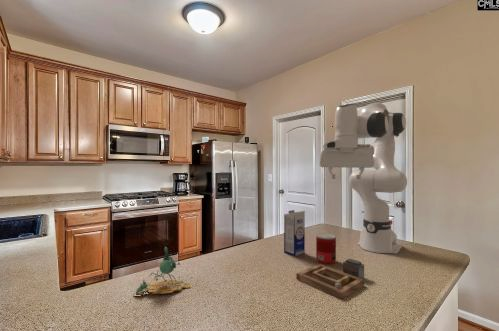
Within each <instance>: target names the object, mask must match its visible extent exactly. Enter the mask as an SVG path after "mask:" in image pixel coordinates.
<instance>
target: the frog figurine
mask: <svg viewBox="0 0 499 331" xmlns="http://www.w3.org/2000/svg"><path fill="white" fill-rule="evenodd" d="M177 265H178V266H180V265H181V263H180V262H178V263H176V261H175V260H174V259H173V256H172V253H170V254H169V250H168V247H166V246H164V257H163V259H162V260H160V263H159V270H157V272H156V273H154V272H151V273H150V274H149V277H151V276H152V275H155V276H154V278H153V282H150V283H147V281H145V278H144V279H143V281H142V283H140V286H139V287H138V288H137V289H136V291H135V292H134V293H133V295H135V294H136V295H143V296H142V297H144V295H145V294H144V292H145V291H146V292H149V293H152V294H153V295H154V294H161V295H163V294H164V295H165V294H172V293H175V292H177V291H179V292H180V291H182V290H183V289H191V288H192V284H189V283H186V282H184V281H183V280H176V277H175V275H173V274H171V273H172V272H174V269H176V268H177ZM159 272H160V274H159ZM165 274H166V275H167V276H169V278H170V279H168V280H167V279H165V278H164V277H165ZM159 277H162V279H163V280H159V279H158V278H159ZM172 277H173V278H172ZM190 287H191V288H190ZM146 292H145V293H146ZM145 296H146V295H145Z"/></svg>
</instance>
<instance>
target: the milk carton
mask: <svg viewBox="0 0 499 331" xmlns="http://www.w3.org/2000/svg"><path fill="white" fill-rule="evenodd" d="M305 218H306V215H305V210H301V211H295V210H294V209H292V210H289V211H288V213H285V214H284V215H283V235H284V236H283V253H284V254H287V255H289V256H293V257H295V258H296V257H298V256H301V255H304V254H305V252H306V251H305V250H306V246H305V245H306V244H305V243H306V242H305V240H306V237H305V233H306V232H305V231H306V230H305V229H306V228H305V224H306V222H305V221H306V219H305Z"/></svg>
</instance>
